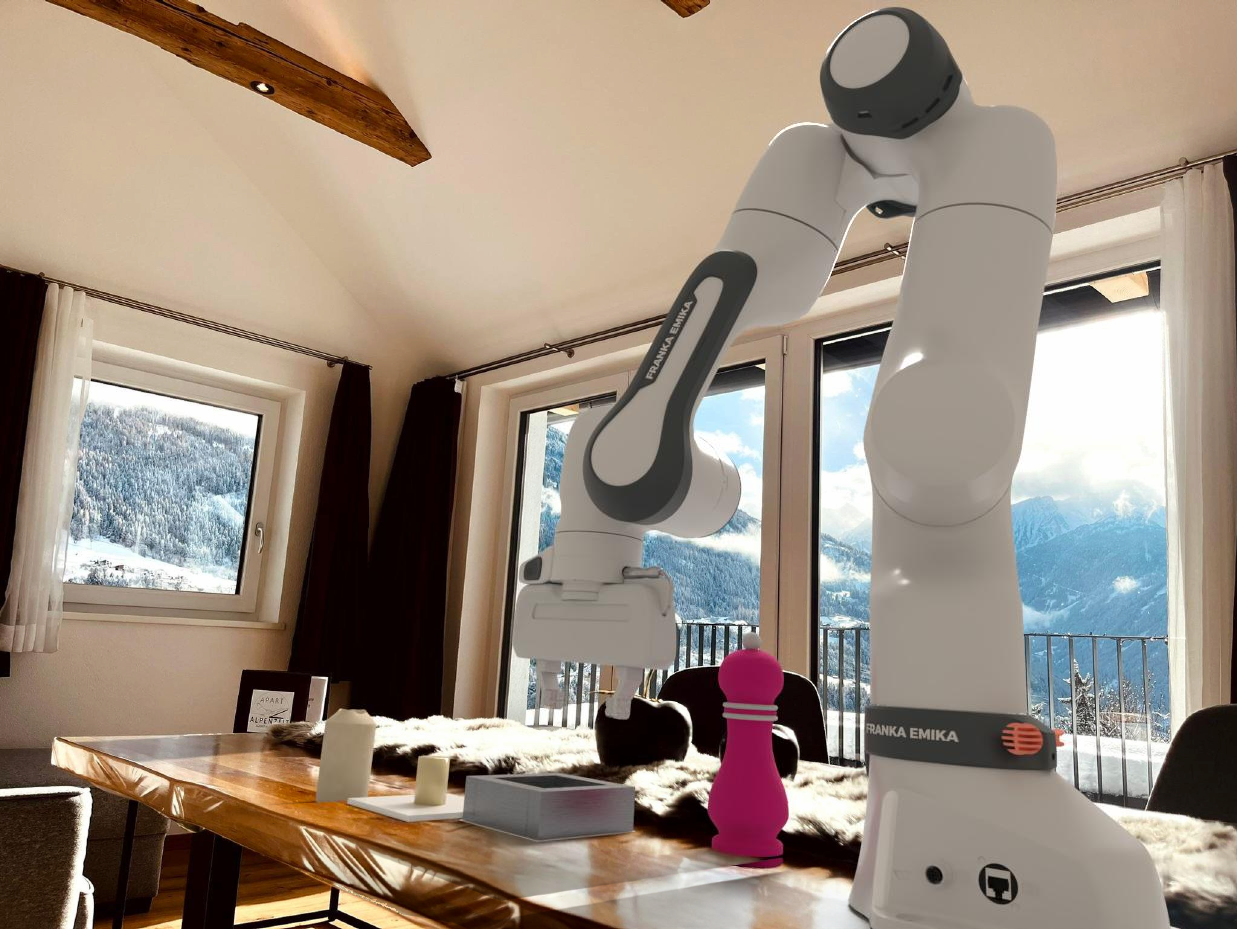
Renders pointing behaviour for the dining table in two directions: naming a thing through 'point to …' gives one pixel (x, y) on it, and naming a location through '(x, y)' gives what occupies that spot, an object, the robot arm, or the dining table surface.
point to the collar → (548, 805)
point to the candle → (346, 756)
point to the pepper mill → (749, 759)
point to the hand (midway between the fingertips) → (583, 713)
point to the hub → (420, 796)
